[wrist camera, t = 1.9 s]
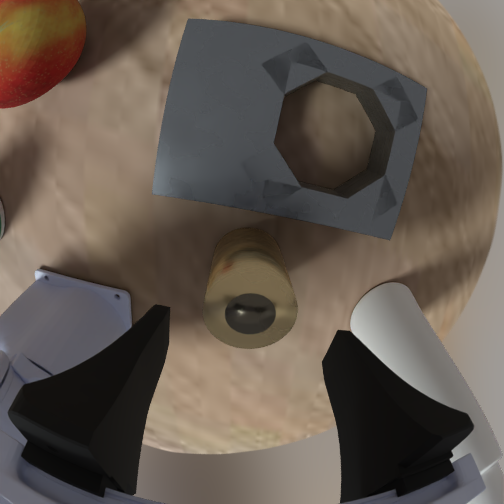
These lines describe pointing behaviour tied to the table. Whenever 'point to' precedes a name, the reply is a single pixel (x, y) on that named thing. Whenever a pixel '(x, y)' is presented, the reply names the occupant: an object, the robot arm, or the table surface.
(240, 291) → the bushing
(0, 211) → the supplement bottle
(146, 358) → the robot arm
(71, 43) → the apple
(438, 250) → the table surface
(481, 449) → the cosmetic bottle
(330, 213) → the plate
